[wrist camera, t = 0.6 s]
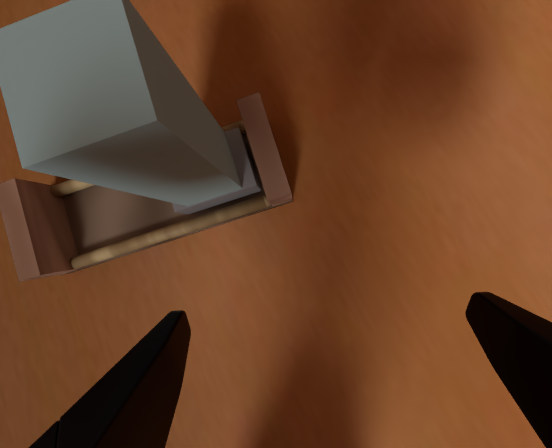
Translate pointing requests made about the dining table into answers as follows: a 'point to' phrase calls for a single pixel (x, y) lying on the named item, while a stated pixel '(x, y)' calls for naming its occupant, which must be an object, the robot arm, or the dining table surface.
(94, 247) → the rail track
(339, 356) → the dining table surface
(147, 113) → the carriage
